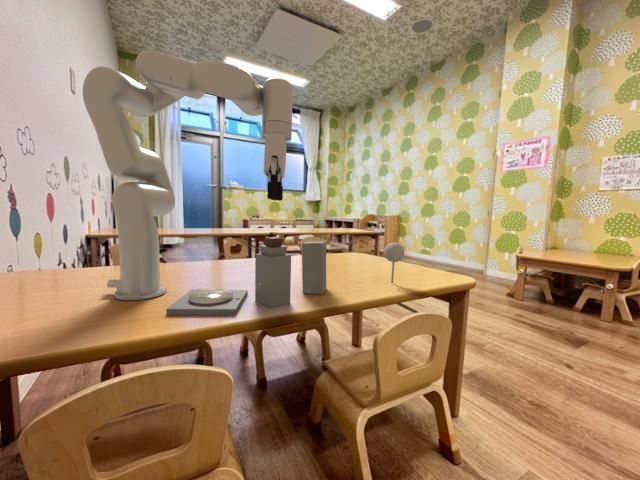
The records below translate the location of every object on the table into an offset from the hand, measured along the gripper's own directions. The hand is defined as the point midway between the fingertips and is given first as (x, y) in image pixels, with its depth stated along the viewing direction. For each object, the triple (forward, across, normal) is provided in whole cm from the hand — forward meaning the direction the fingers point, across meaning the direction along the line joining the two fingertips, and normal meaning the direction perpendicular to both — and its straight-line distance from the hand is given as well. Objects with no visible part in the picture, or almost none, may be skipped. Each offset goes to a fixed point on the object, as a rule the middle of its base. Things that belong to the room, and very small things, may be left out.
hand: (275, 199), depth 74 cm
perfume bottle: (+28, 0, 0) cm, 28 cm away
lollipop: (+28, -21, +41) cm, 54 cm away
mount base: (+28, +1, -16) cm, 32 cm away
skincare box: (+28, -12, +12) cm, 33 cm away
